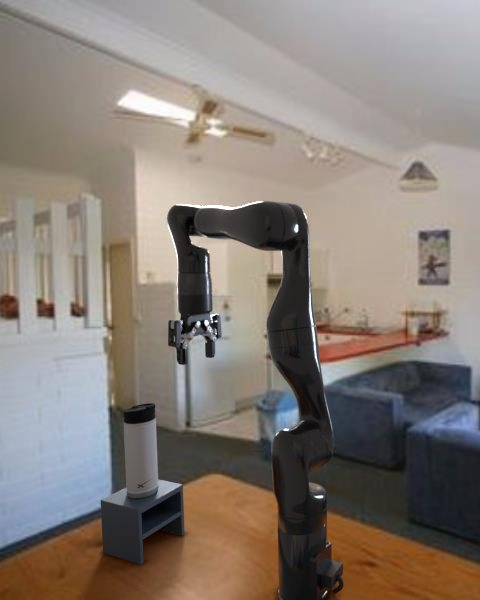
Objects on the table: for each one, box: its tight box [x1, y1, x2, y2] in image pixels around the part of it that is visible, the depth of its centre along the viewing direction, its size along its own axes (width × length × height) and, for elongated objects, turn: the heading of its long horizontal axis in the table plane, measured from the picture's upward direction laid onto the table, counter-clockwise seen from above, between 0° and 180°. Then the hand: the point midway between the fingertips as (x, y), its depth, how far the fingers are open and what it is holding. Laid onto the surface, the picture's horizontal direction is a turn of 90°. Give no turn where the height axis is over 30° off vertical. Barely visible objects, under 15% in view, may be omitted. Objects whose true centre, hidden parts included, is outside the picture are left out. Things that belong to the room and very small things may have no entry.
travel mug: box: [122, 402, 159, 499], centre depth 106 cm, size 6×7×20 cm
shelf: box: [99, 478, 186, 565], centre depth 107 cm, size 11×12×12 cm
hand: (197, 360), depth 113 cm, fingers open, 8 cm apart
